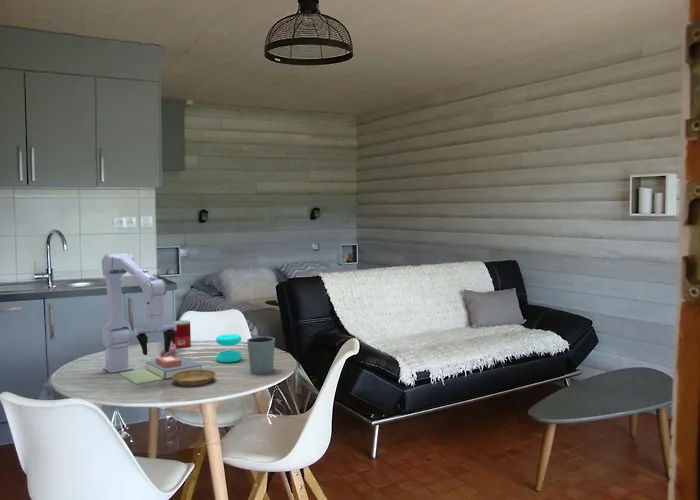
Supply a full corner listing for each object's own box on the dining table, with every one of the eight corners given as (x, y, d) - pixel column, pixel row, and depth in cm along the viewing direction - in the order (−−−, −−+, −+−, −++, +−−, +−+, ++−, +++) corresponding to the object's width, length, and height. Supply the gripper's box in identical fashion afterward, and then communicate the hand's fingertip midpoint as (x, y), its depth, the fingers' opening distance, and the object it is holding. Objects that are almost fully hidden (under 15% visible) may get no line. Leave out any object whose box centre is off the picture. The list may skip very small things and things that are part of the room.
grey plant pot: (279, 368, 228) (278, 337, 227) (268, 375, 218) (268, 342, 217) (254, 366, 230) (254, 335, 230) (243, 373, 221) (242, 341, 220)
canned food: (194, 345, 269) (193, 321, 268) (180, 349, 262) (180, 324, 261) (182, 343, 273) (181, 319, 272) (168, 347, 266) (168, 322, 265)
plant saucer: (172, 389, 201) (172, 382, 201) (172, 378, 215) (172, 371, 215) (217, 386, 205) (217, 378, 205) (214, 375, 220) (214, 368, 219)
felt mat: (119, 374, 221) (119, 373, 221) (144, 369, 227) (144, 368, 227) (136, 384, 207) (136, 383, 207) (163, 379, 213) (163, 378, 213)
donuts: (245, 334, 244) (233, 338, 234) (246, 358, 244) (233, 364, 235) (224, 332, 247) (211, 337, 237) (224, 356, 247) (211, 362, 238)
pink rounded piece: (172, 364, 241) (179, 348, 242) (161, 360, 239) (169, 344, 240) (169, 359, 250) (177, 343, 251) (159, 355, 248) (167, 339, 249)
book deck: (145, 369, 227) (145, 361, 227) (181, 363, 236) (181, 356, 236) (164, 379, 213) (164, 371, 213) (201, 373, 222) (201, 364, 221)
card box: (156, 363, 224) (156, 357, 224) (171, 360, 228) (171, 355, 228) (165, 368, 217) (165, 362, 217) (181, 365, 221) (181, 359, 221)
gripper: (138, 318, 202) (139, 358, 203) (179, 313, 211) (180, 352, 212) (131, 315, 207) (132, 354, 208) (171, 311, 216) (172, 348, 217)
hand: (156, 353), depth 210 cm, fingers open, 7 cm apart
